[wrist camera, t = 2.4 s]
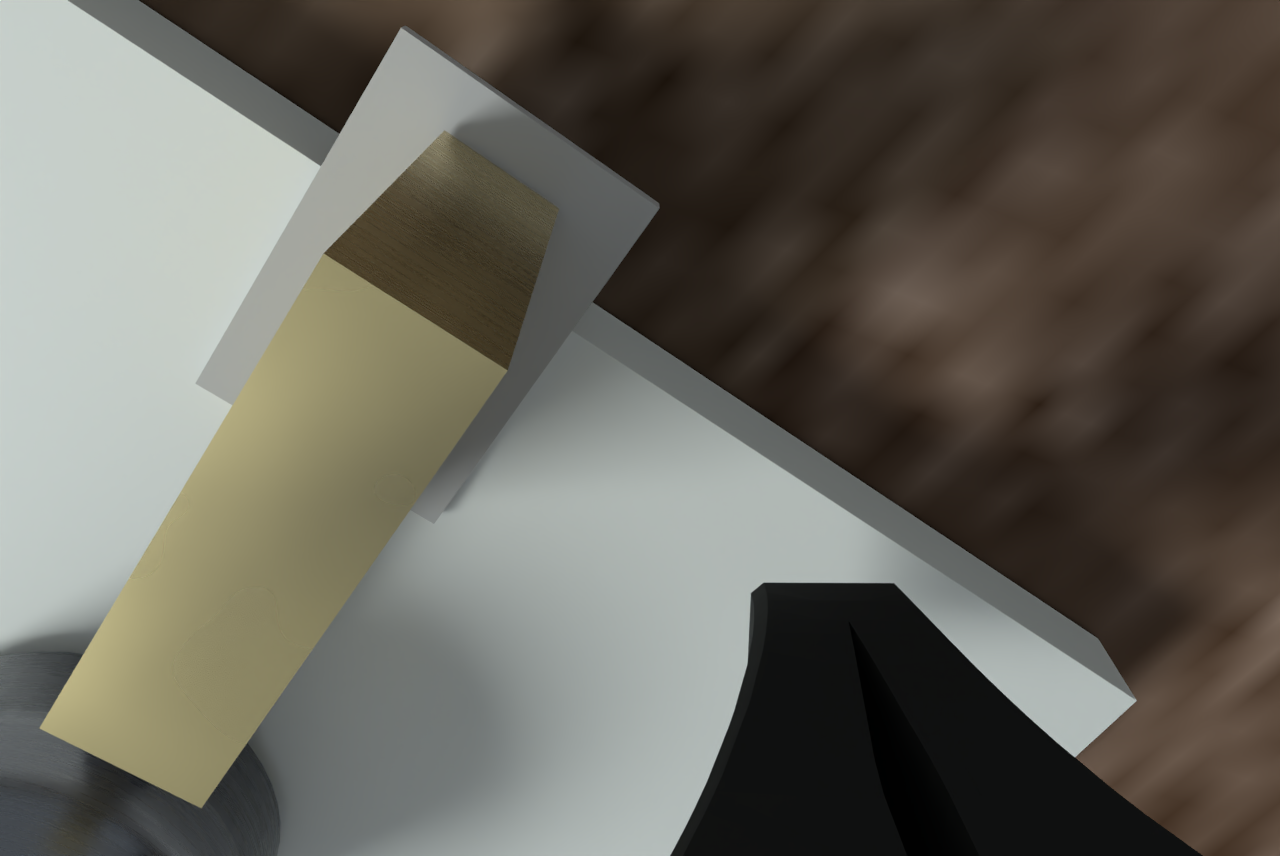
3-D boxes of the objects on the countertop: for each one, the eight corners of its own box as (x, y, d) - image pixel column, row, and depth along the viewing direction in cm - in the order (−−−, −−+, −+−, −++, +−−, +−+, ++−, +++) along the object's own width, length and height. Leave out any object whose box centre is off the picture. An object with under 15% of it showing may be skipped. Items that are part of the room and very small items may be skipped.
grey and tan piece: (180, 995, 14) (19, 1363, 11) (-160, 842, 13) (-466, 1190, 10) (703, 306, 10) (730, 511, 7) (281, 18, 9) (49, 80, 6)
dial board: (1188, 552, 13) (1246, 619, 12) (430, 1277, 19) (414, 1373, 18) (-458, -614, 9) (-642, -702, 8) (-776, 783, 15) (-910, 863, 14)
